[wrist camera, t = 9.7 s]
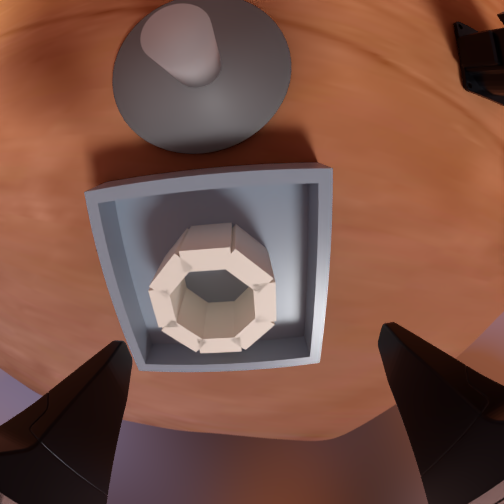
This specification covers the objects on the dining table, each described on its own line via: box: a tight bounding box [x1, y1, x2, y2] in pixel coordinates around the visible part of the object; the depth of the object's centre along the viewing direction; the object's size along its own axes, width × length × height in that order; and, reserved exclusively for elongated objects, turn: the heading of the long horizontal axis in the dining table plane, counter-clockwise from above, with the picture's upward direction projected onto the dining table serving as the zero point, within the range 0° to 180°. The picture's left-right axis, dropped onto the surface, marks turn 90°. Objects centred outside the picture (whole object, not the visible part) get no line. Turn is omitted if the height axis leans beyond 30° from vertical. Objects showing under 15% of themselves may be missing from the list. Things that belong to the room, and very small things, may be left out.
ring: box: [148, 223, 277, 353], centre depth 18 cm, size 7×9×4 cm
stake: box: [113, 0, 291, 154], centre depth 11 cm, size 11×11×7 cm
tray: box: [84, 162, 333, 372], centre depth 18 cm, size 14×14×3 cm
